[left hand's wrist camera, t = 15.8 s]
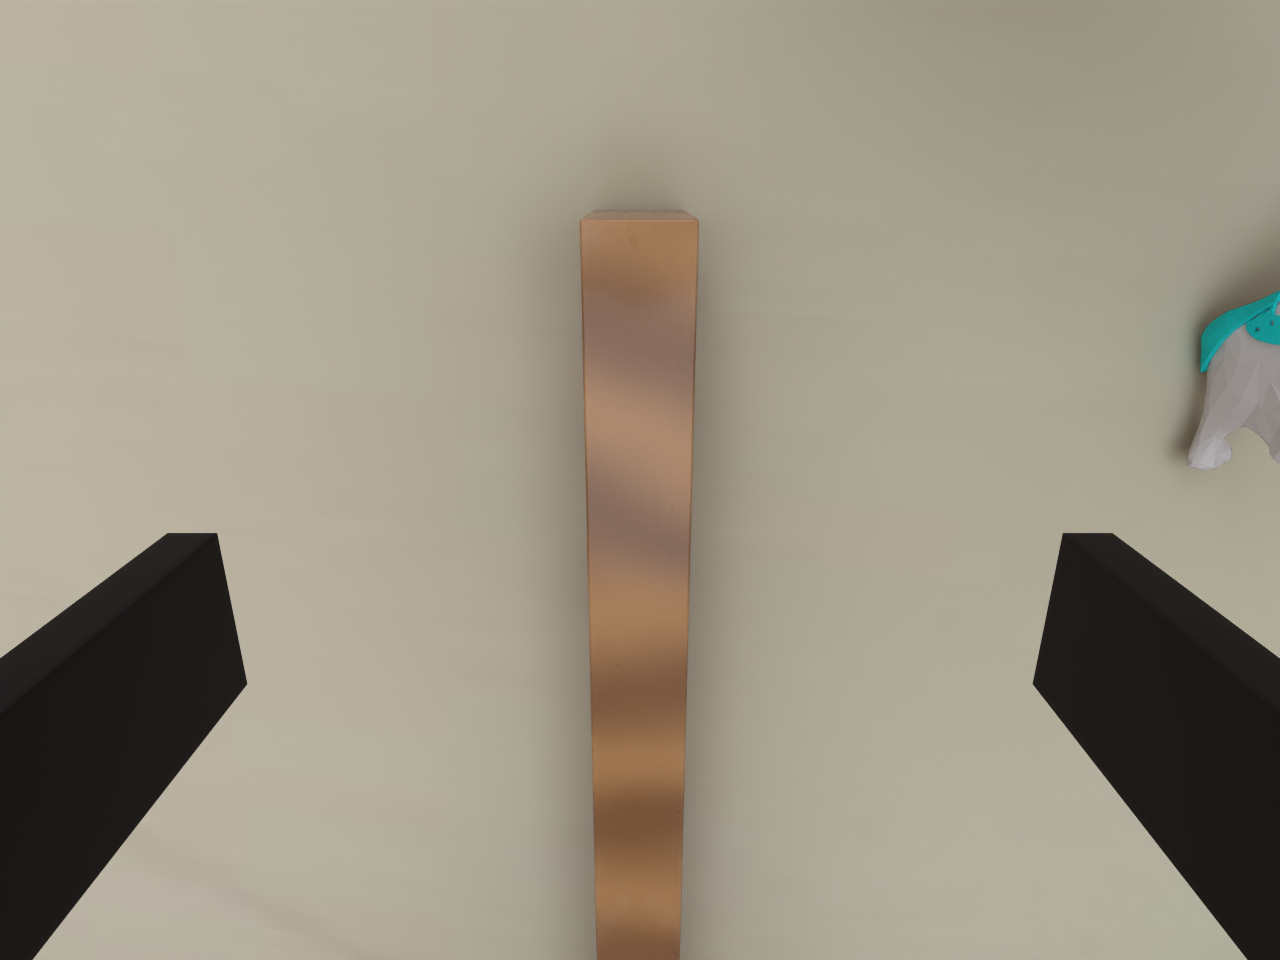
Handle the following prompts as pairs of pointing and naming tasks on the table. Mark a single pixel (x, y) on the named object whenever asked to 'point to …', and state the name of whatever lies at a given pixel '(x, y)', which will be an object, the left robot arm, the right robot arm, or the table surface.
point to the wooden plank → (638, 563)
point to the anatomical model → (1239, 381)
